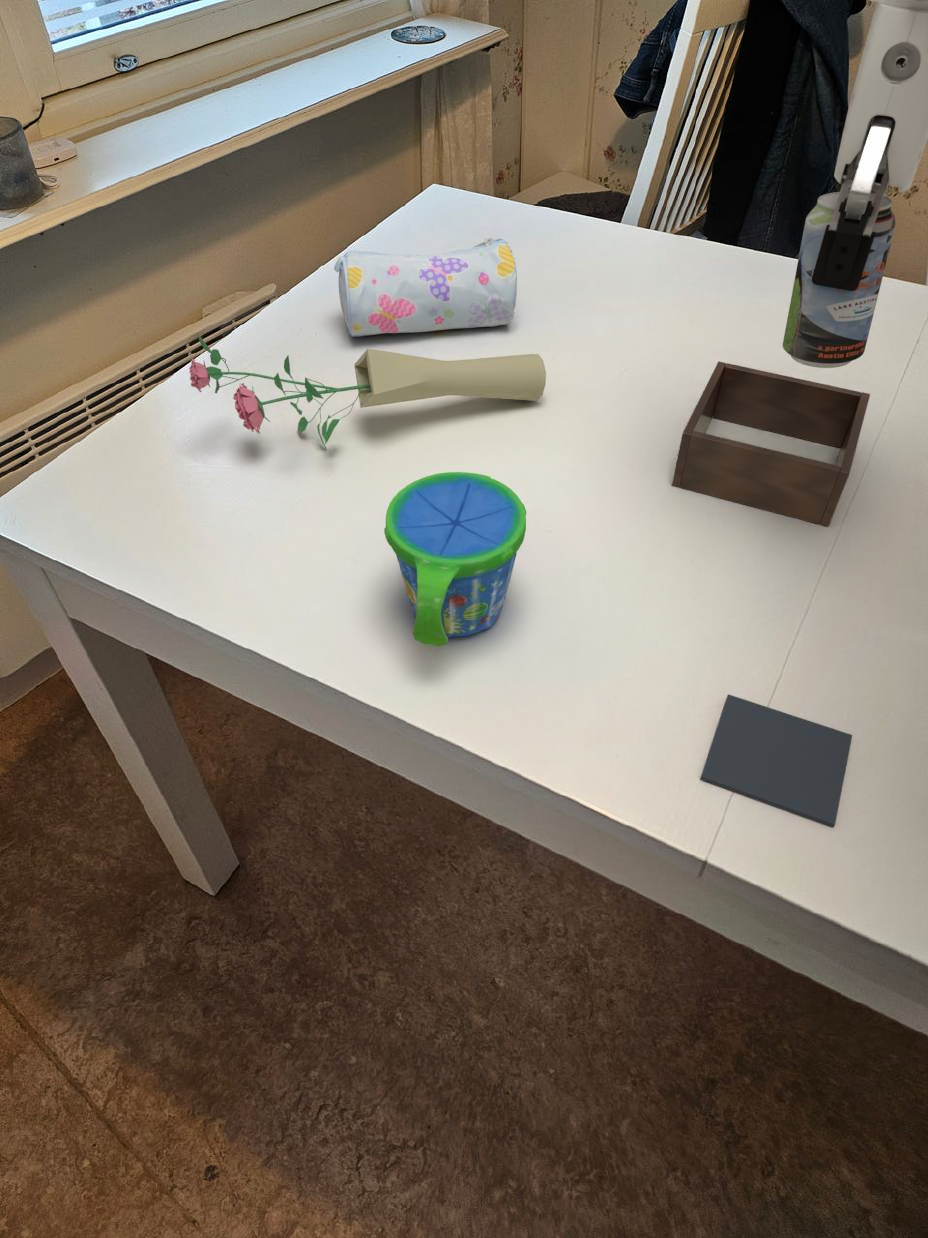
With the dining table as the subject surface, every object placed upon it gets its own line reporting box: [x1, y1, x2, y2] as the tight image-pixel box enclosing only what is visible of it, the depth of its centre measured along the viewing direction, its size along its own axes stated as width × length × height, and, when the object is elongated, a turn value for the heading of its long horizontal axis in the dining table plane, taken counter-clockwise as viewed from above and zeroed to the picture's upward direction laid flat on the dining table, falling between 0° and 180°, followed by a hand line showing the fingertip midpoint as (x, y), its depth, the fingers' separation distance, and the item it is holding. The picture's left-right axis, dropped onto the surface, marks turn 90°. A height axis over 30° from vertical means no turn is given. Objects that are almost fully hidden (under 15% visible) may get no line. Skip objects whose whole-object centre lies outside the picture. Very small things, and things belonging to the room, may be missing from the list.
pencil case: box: [333, 237, 518, 337], centre depth 101 cm, size 21×9×10 cm, turn 101°
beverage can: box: [782, 191, 897, 369], centre depth 65 cm, size 6×7×12 cm
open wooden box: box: [671, 361, 871, 527], centre depth 83 cm, size 15×14×6 cm
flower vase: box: [188, 333, 547, 451], centre depth 87 cm, size 12×12×35 cm
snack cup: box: [383, 471, 527, 647], centre depth 68 cm, size 16×10×10 cm
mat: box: [700, 693, 853, 828], centre depth 62 cm, size 9×8×1 cm
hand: (841, 264), depth 64 cm, fingers closed on beverage can, 6 cm apart
